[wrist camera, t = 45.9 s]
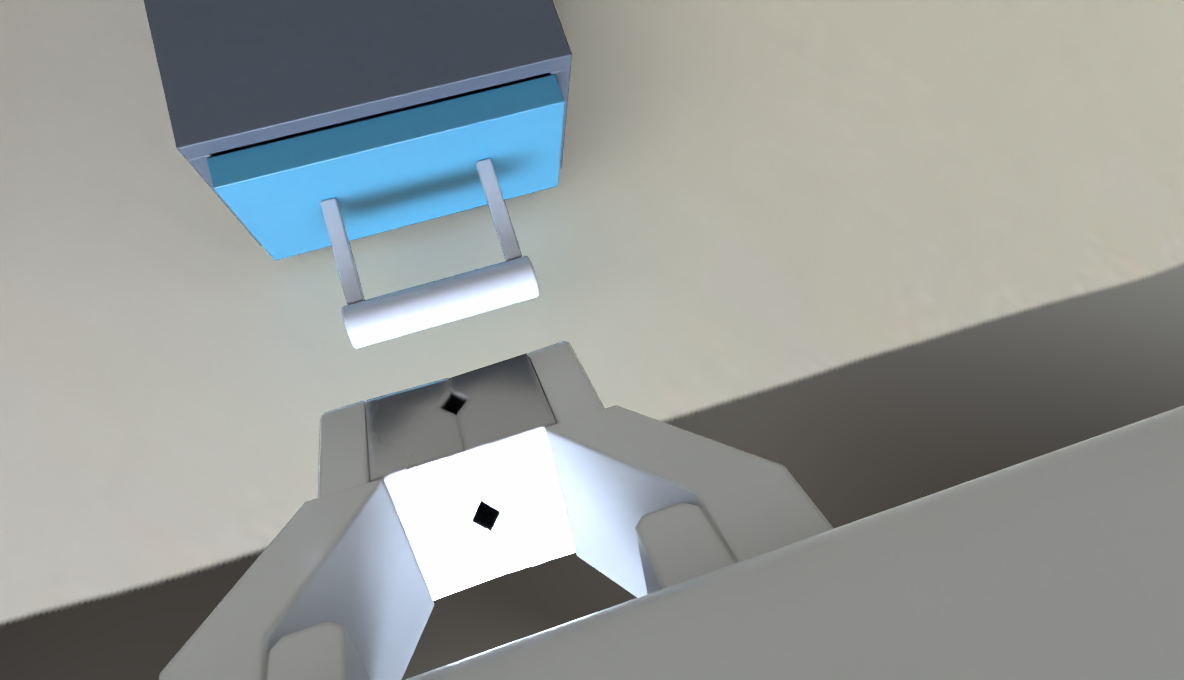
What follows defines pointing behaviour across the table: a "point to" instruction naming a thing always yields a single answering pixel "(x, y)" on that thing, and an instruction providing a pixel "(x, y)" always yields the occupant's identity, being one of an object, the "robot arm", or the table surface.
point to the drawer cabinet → (336, 62)
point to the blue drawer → (404, 194)
